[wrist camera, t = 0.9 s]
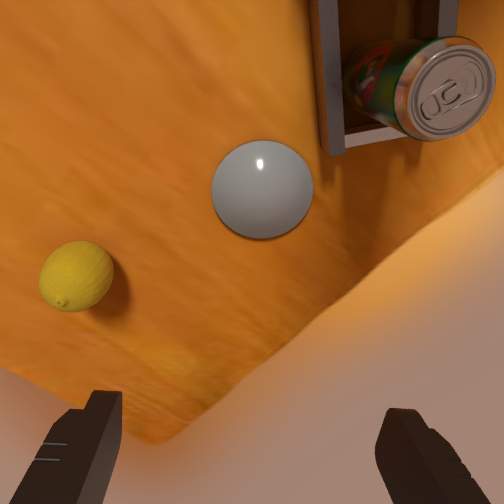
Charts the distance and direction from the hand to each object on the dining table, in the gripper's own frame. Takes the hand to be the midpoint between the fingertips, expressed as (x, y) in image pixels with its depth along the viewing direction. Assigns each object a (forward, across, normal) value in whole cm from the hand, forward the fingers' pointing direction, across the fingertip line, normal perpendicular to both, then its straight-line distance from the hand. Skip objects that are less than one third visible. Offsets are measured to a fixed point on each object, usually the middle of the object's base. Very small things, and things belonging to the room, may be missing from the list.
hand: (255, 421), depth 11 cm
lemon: (+26, +13, +6) cm, 29 cm away
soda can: (+22, -9, -13) cm, 27 cm away
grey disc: (+24, -2, -2) cm, 24 cm away
